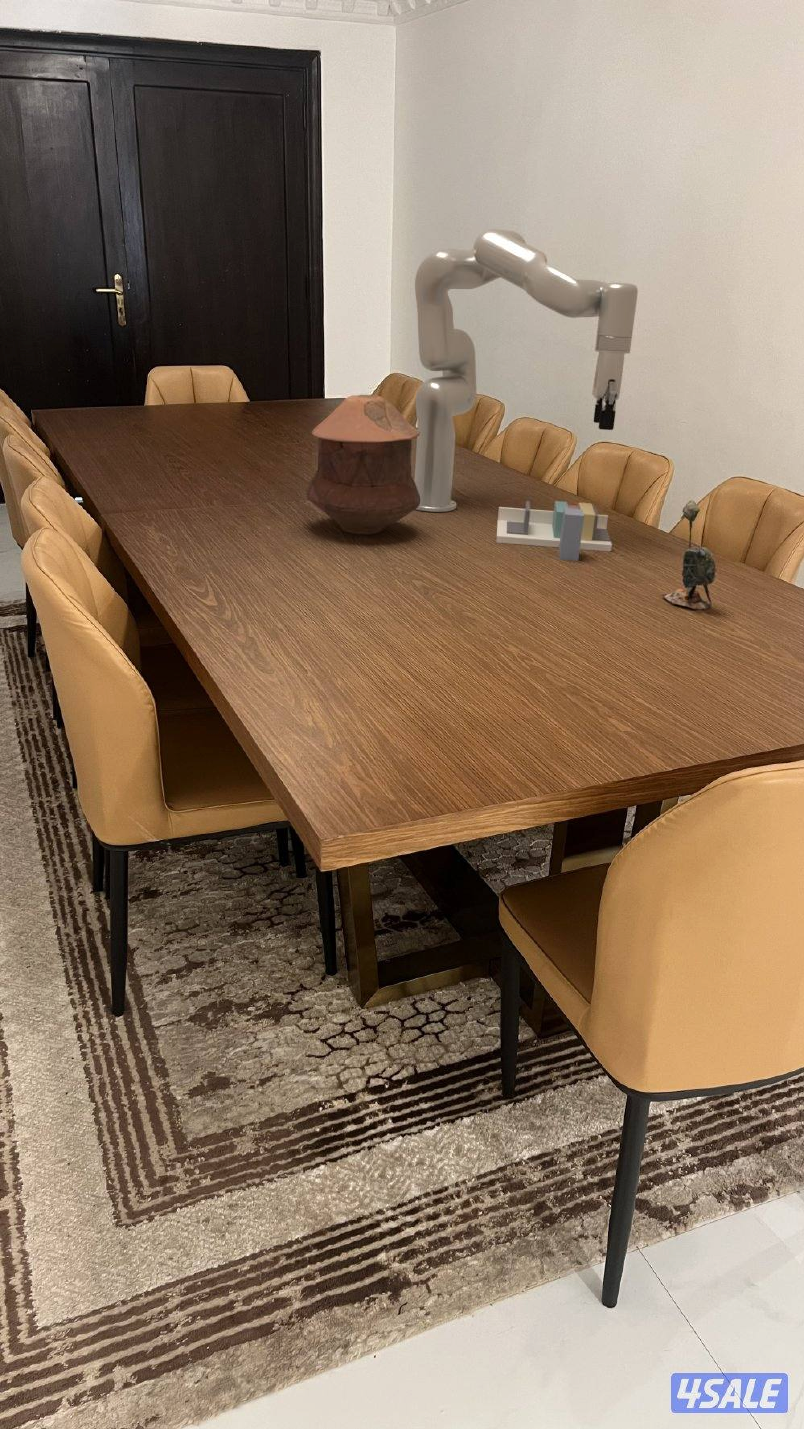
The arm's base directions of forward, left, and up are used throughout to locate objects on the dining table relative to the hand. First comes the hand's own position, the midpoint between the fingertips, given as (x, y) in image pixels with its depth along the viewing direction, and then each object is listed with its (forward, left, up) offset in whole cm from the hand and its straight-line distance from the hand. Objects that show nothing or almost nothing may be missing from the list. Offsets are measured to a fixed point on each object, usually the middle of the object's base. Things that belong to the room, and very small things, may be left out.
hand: (603, 425), depth 227 cm
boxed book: (-5, -15, -26) cm, 31 cm away
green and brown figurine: (+17, -43, -26) cm, 53 cm away
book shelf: (-8, 0, -26) cm, 27 cm away
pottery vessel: (-52, -7, -26) cm, 59 cm away
